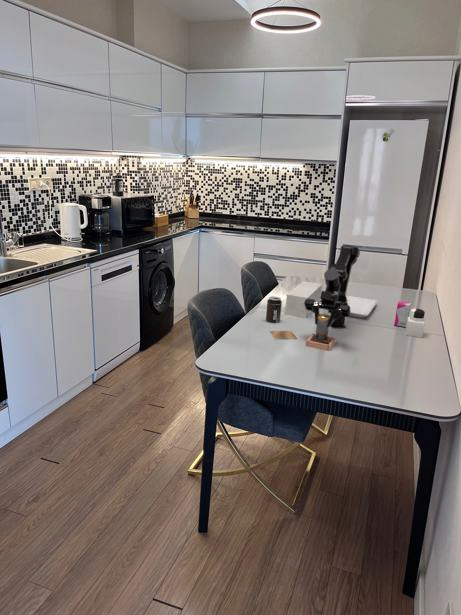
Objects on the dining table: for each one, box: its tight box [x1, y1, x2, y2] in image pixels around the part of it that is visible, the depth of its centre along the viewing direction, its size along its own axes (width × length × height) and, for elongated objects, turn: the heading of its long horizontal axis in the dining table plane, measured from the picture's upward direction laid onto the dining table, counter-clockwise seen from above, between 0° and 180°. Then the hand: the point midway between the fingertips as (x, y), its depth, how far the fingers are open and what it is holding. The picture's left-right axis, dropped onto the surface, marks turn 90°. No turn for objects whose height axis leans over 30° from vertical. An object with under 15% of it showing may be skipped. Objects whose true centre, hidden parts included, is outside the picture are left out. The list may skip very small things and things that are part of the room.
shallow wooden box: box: [305, 333, 337, 352], centre depth 192 cm, size 10×10×3 cm
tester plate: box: [269, 330, 298, 341], centre depth 201 cm, size 10×10×1 cm
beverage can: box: [265, 295, 283, 324], centre depth 217 cm, size 7×7×12 cm
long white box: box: [284, 280, 323, 319], centre depth 242 cm, size 32×11×11 cm, turn 157°
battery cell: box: [315, 313, 330, 342], centre depth 190 cm, size 5×5×10 cm
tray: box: [346, 295, 378, 319], centre depth 245 cm, size 17×31×4 cm, turn 155°
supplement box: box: [393, 301, 412, 329], centre depth 223 cm, size 6×6×12 cm
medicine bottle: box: [405, 308, 426, 338], centre depth 212 cm, size 7×7×12 cm
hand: (322, 325), depth 189 cm, fingers closed on battery cell, 5 cm apart
